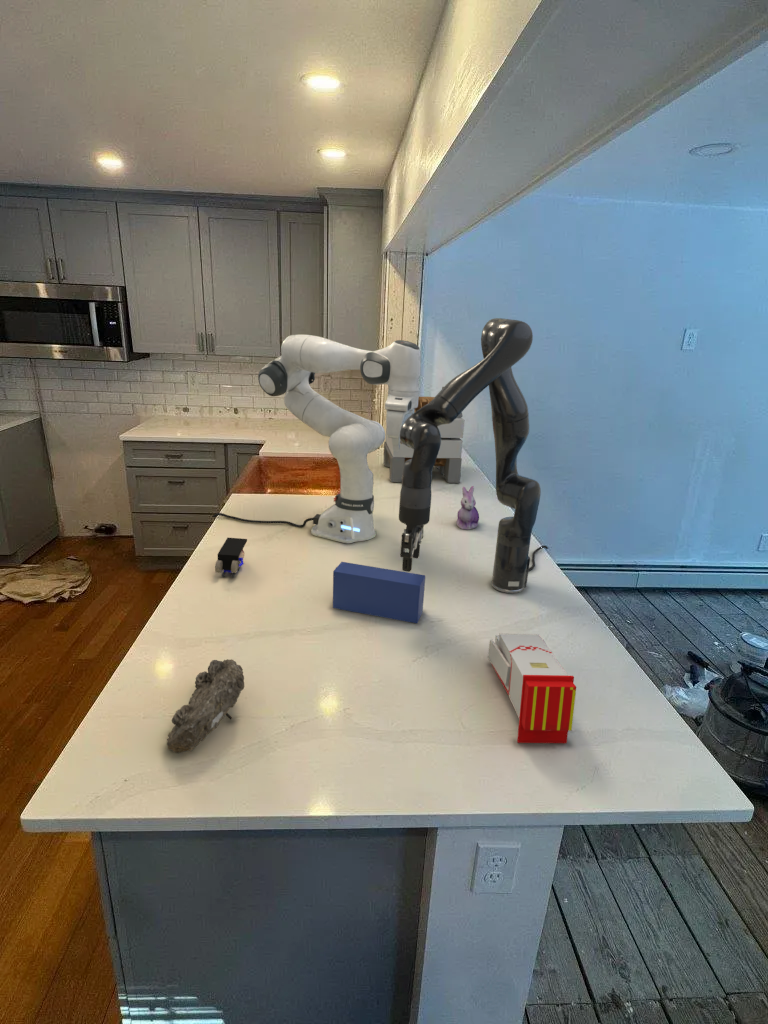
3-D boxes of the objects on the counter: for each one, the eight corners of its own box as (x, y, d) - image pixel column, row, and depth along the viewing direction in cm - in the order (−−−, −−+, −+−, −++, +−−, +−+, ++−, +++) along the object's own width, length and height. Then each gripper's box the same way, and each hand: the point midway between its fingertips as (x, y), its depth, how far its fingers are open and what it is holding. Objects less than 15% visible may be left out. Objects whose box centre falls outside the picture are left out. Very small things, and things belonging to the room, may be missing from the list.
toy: (536, 617, 130) (585, 683, 100) (531, 671, 132) (578, 750, 103) (483, 616, 129) (518, 682, 100) (479, 670, 132) (511, 749, 103)
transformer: (382, 463, 289) (386, 382, 275) (445, 464, 293) (451, 384, 279) (390, 482, 257) (394, 392, 243) (460, 483, 261) (468, 394, 247)
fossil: (192, 660, 117) (244, 628, 112) (224, 691, 120) (276, 661, 115) (142, 746, 98) (202, 712, 93) (182, 779, 101) (242, 748, 96)
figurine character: (238, 584, 162) (249, 557, 175) (236, 562, 158) (247, 536, 172) (215, 584, 161) (227, 556, 175) (212, 561, 158) (225, 535, 171)
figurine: (464, 532, 204) (468, 492, 199) (449, 522, 212) (452, 484, 207) (486, 528, 208) (490, 489, 203) (469, 519, 216) (473, 481, 211)
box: (332, 608, 149) (333, 571, 145) (340, 597, 155) (341, 561, 151) (417, 623, 143) (420, 585, 140) (422, 611, 149) (425, 575, 146)
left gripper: (400, 394, 173) (397, 438, 177) (383, 404, 154) (380, 453, 159) (420, 396, 171) (417, 441, 176) (406, 406, 153) (402, 456, 157)
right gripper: (424, 514, 129) (419, 578, 135) (436, 496, 142) (431, 555, 148) (392, 509, 131) (388, 573, 136) (407, 492, 144) (403, 551, 149)
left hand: (399, 447), depth 167 cm, fingers open, 8 cm apart
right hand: (410, 563), depth 142 cm, fingers open, 8 cm apart
